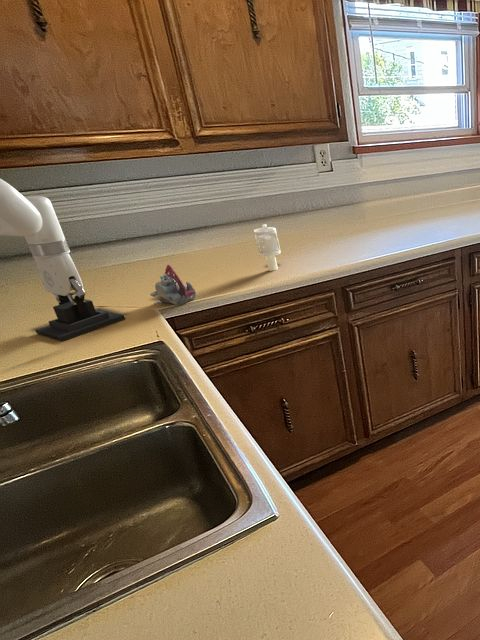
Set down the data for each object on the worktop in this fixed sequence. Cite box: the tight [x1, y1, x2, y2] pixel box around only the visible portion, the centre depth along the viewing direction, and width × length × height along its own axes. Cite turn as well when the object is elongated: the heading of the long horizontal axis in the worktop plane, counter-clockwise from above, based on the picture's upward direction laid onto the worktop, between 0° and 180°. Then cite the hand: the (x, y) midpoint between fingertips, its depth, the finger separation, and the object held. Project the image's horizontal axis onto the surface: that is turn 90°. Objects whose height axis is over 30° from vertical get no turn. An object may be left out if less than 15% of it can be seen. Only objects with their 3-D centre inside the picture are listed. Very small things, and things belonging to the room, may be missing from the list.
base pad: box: [34, 308, 126, 342], centre depth 138 cm, size 16×12×3 cm
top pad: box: [52, 298, 97, 324], centre depth 136 cm, size 7×5×4 cm
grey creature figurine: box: [149, 264, 197, 306], centre depth 151 cm, size 11×11×12 cm
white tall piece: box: [253, 223, 282, 272], centre depth 177 cm, size 7×7×15 cm
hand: (77, 315), depth 137 cm, fingers closed on top pad, 5 cm apart
